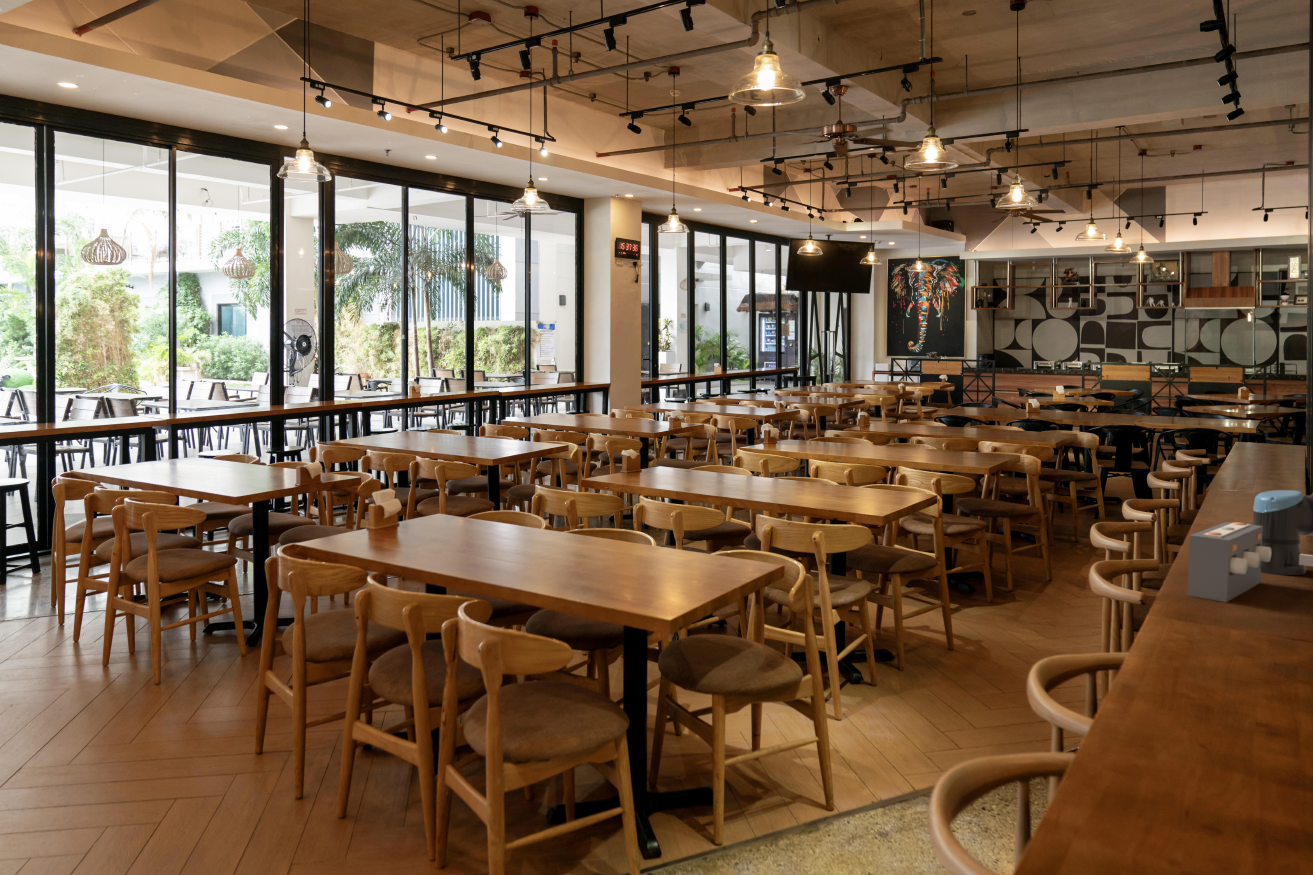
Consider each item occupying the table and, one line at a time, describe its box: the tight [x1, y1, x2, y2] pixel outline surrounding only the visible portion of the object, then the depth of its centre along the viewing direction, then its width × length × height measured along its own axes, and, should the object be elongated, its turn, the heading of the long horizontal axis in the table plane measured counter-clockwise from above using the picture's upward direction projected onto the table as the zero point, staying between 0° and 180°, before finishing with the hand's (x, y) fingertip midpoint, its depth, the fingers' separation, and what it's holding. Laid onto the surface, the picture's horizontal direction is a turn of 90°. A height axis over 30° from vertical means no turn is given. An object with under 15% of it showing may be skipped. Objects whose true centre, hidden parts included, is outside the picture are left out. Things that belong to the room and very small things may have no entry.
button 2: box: [1255, 545, 1271, 562], centre depth 245 cm, size 4×6×4 cm
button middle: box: [1243, 551, 1260, 568], centre depth 238 cm, size 4×6×4 cm
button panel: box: [1186, 521, 1263, 603], centre depth 241 cm, size 30×9×17 cm, turn 132°
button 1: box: [1230, 557, 1248, 575], centre depth 230 cm, size 4×6×4 cm
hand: (1299, 559), depth 238 cm, fingers closed
